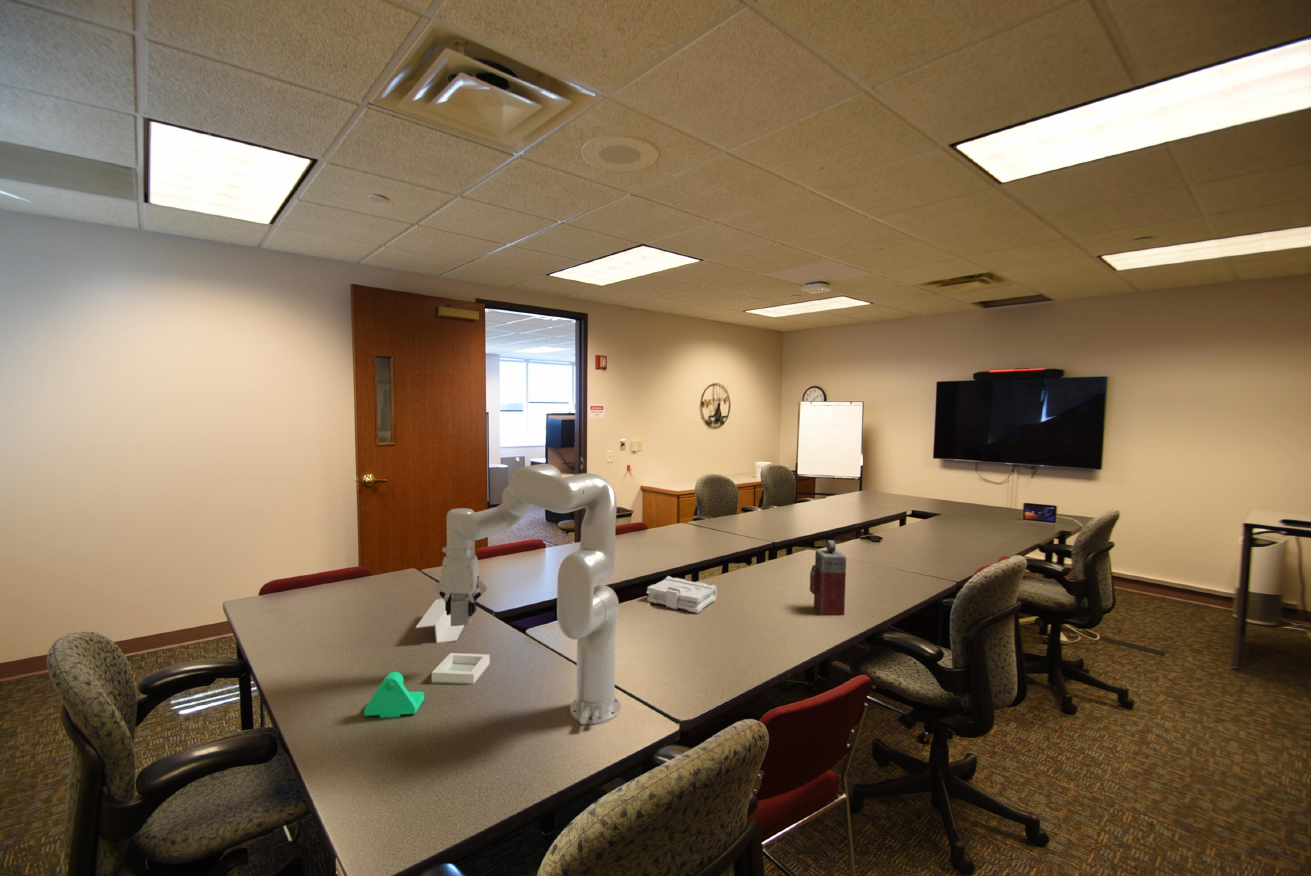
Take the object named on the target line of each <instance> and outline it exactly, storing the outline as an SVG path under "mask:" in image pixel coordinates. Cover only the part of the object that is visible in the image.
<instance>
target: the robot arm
mask: <svg viewBox="0 0 1311 876" xmlns="http://www.w3.org/2000/svg"><path fill="white" fill-rule="evenodd" d="M615 493H616V492H615V491H614V488H613V486H611V483H610V482H609V481H608V480H606V479H605V478H604V477H602V476H600V475H599V474H596V473H589V472H588V473H587V472H584V473H578V474H573V475H569V476H568V475H567V476H564V477H563V476H562V473H561V471H560V470H559V469H558V468H557V467H556V466H554V465H552V464H550V463H540V464H539V463H538V464H532V465H525V466H522V467H519V468H517V469H516V470H515V471H514V472H513V473H512V475H511V477H510V479H509V485H508V486H507V487H505V489H503V491H502V495H501V498H502V499H501V500H502V502H501V503H500V504H499V505H497V506H496V507H493V508H489V509H484V510H483V509H482V510H479V511H475V510H473V509H471V508H466V507H465V508H464V507H463V508H462V507H461V508H452V509H451V510H449V511H448V512H447V514H446V546H445V547H442V549H441V550H442V551H441V552H442V553H445V555H446V556H444V557H443V560H442V563H441V572H440V573H441V574H440V580H439V582H438V583H437V584H435V586H434V588H433V589H434V591H436V592H437V593H438V594H439V596H440V597H441V599H444V601H445V611H446V614H447V615H450V614H451V598H453V594H468V596H469V599H470V602H469V603H468V616H471V617H472V616H473V615H475V613H476V612H477V600H478V599H479V598H480V597H482V595H483V594H485V593H486V592H487V590H488V587H487V586H486V584H484V582H483V581H482V580H481V576H480V575H481V574H480V572H481V571H480V564H479V561H478V556H477V555H476V554H475V553H476V541H479V540H482V539H486V538H489V537H492V536H496V535H499V534H502V533H504V532H506V531H508V530H509V529H511V528H512V527H514V526H515V525H517V524H518V523H519V522H521V521H522V520H523V519H524V517H525V516H526V513H528V512H529V511H531V510H533V509H534V508H535V507H536V508H540V509H543V510H547V511H550V512H552V513H557V514H567V513H571V512H575V511H578V510H582V509H585V513H584V517H583V519H582V522H581V527H580V546H579V549H578V550H575V551H574V552H572V553H570V554H568V555H567V556H566V557H565V558H564V559H563V560H562V561H561V563H560V565H559V569H558V573H557V595H556V597H557V599H556V616H557V624H558V626H559V629H560V631H561V632H562V634H563V635H564V636H565V637H566V638H568V639H571V640H576V641H577V642H576V699H574V700H573V701H572V702H571V703H570V707H569V708H570V709H569V710H570V711H569V713H570V715H571V717H572V718H573V719H574V720H575V721H577V722H578V723H580V724H582V725H586V724H587V725H600V724H601V725H602V724H605V723H607V722H610V721H612V720H614V719H615V718H617V716H619V714H620V713H621V702H620V700H619V699H617V698H616V697H615V678H616V677H615V674H616V673H615V672H616V671H615V669H616V667H615V665H616V664H615V663H616V659H615V658H616V632H617V631H616V630H617V624H618V617H619V612H620V611H619V610H620V604H619V598H618V596H617V594H616V592H615V590H614V589H613V588H611V586H610V587H609V586H607V585H605V584H603V583H604V582H606V581H607V580H609V579H610V578H611V577H612V576H613V575H614V571H615V564H616V561H615V560H616V524H617V523H616V522H617V521H616V520H617V508H618V506H617V497H616V494H615ZM478 589H479V591H478V592H477V590H478Z"/></svg>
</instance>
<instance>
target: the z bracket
mask: <svg viewBox="0 0 1311 876" xmlns="http://www.w3.org/2000/svg"><path fill="white" fill-rule="evenodd" d="M428 627H434V632H435V633H434V634H435V642H436V644H441V643H443V644H444V643H451V642H457V641H458V639H459V636H460V635H461V633H462V631H463V629H464V627H465V625H461V626H451V614H450V615H447V614H446V611H445V601H444V599H443V598H439V599H438V598H437V599H435V601H433V603H432V605H430V607H429V608H428V610H427V611H426V612H425V614H424V615H423V616H422V617H421V619H420V620H419V621H418V624H417V625H416V626H415V629H420V628H428Z"/></svg>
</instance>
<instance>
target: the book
mask: <svg viewBox="0 0 1311 876" xmlns="http://www.w3.org/2000/svg"><path fill="white" fill-rule="evenodd" d="M646 594H648V595H649V596H647V597H646V599H647V600H646V601H647V602H648V603H651V604H652V603H653V604H661V605H665V606H666V608H669V607H670V609H674V610H677V609H682V610H687V612H692V613H694V612H695V614H699V613H700V612H701V611H702V610H703V609H704V608H705V607H707V606H709V604H711V603H714V602H715V601H716V599H717V596H718V588H717V586H716V585H715V584H712V585H710V584H707V583H705V582H699V581H697V582H695V581H690V580H686V579H684V578H679V577H672V576H670V575H667V576H666V577H665V578H664V579H663V580H661V581H659V582H657V583H655V584H651V585H649V586H647V590H646ZM713 601H714V602H713Z"/></svg>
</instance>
